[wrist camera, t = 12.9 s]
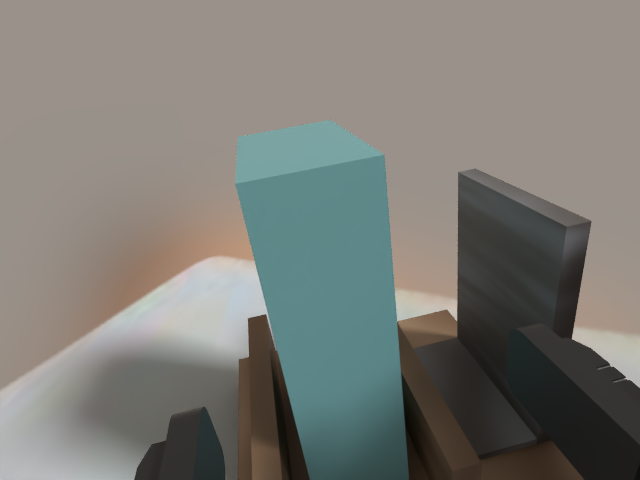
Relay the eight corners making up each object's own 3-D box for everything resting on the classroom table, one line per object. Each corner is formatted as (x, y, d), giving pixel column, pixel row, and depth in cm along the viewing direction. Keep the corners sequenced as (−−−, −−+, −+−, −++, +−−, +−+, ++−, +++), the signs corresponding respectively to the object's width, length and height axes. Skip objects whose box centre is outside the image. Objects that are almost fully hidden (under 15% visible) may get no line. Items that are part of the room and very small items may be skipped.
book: (317, 510, 18) (235, 183, 11) (296, 382, 26) (238, 136, 19) (409, 484, 19) (384, 154, 12) (362, 366, 26) (329, 119, 19)
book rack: (248, 650, 16) (121, 403, 10) (245, 379, 29) (191, 205, 23) (606, 537, 17) (688, 264, 11) (447, 330, 31) (445, 155, 25)
